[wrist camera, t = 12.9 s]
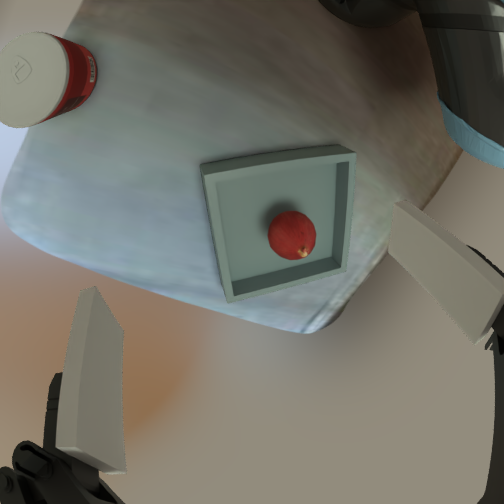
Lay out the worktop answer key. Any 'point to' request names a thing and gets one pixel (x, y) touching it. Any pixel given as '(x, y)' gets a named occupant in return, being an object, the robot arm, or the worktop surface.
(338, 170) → the bin
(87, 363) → the robot arm
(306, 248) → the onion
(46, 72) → the canned food
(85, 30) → the worktop surface
